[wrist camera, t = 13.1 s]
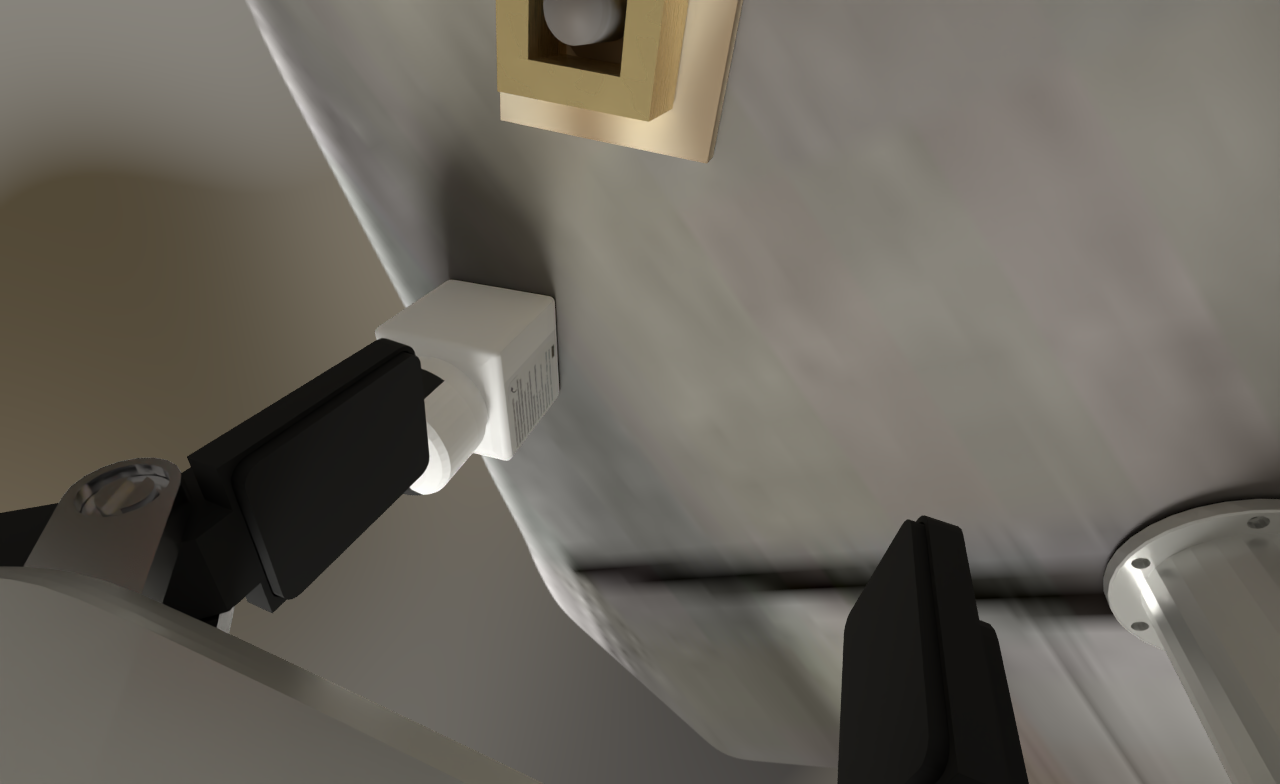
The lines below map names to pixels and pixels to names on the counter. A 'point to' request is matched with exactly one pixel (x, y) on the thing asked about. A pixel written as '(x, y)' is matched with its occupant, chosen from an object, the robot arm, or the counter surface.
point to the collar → (593, 60)
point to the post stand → (594, 28)
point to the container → (478, 371)
